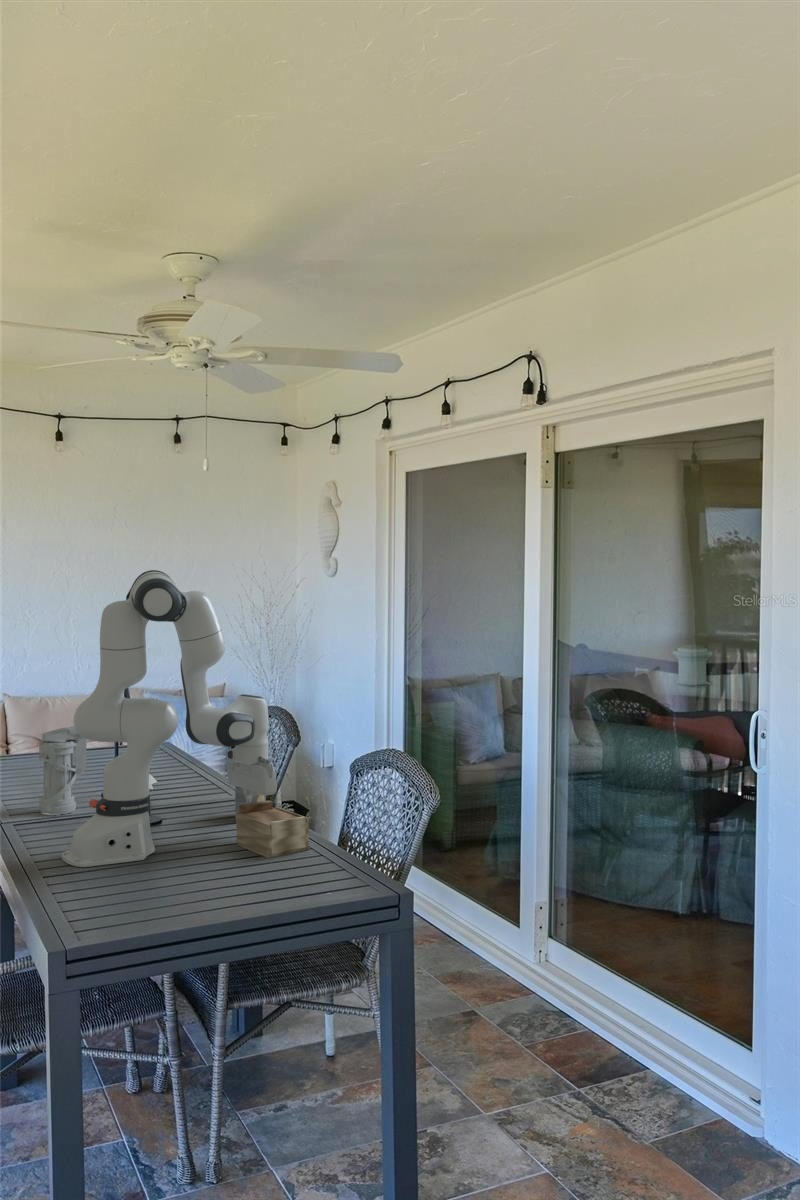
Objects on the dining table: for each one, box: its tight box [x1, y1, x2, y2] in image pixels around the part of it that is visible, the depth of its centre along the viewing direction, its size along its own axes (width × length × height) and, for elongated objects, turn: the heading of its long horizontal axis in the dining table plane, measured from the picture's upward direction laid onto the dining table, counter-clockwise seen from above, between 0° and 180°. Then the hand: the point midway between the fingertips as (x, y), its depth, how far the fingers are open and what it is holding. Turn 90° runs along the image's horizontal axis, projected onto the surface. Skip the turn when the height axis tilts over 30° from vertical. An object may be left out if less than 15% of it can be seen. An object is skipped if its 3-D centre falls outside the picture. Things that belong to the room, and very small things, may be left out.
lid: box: [239, 799, 298, 825], centre depth 254 cm, size 10×16×3 cm, turn 39°
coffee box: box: [234, 786, 267, 821], centre depth 286 cm, size 9×6×16 cm
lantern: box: [38, 725, 87, 814], centre depth 291 cm, size 13×10×25 cm
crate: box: [236, 806, 310, 859], centre depth 253 cm, size 12×16×9 cm
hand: (251, 806), depth 261 cm, fingers closed
